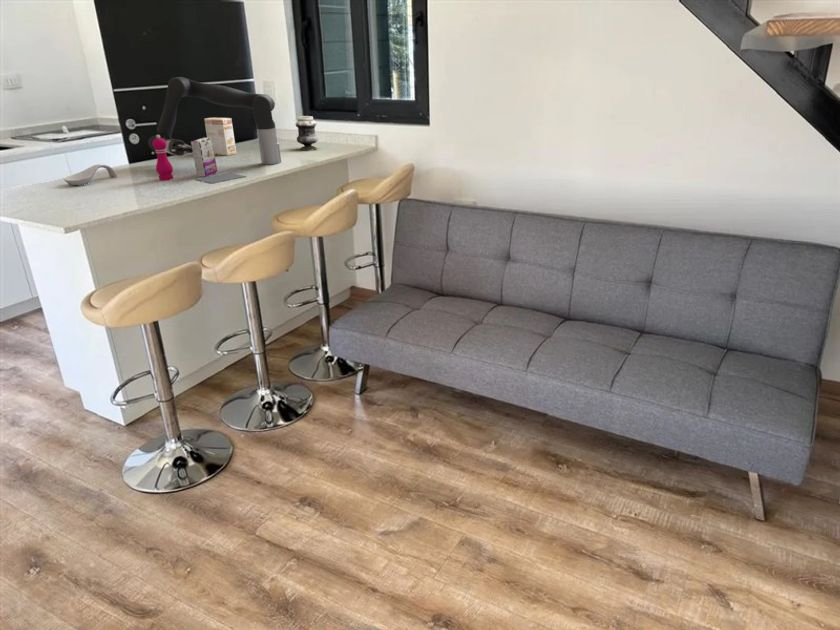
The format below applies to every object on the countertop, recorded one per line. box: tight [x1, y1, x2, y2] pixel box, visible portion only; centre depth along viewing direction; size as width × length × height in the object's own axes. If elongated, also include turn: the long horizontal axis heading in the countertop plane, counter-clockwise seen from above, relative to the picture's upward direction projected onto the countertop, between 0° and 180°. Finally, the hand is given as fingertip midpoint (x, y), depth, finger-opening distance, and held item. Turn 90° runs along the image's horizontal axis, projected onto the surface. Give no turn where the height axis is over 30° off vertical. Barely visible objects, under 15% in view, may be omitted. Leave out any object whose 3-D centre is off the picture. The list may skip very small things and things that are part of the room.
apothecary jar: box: [295, 115, 319, 151], centre depth 353 cm, size 12×12×18 cm
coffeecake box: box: [204, 117, 237, 156], centre depth 346 cm, size 15×7×20 cm, turn 58°
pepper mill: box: [152, 134, 174, 181], centre depth 283 cm, size 7×7×20 cm
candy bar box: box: [190, 137, 218, 178], centre depth 290 cm, size 11×5×16 cm, turn 168°
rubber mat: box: [194, 172, 247, 184], centre depth 284 cm, size 18×14×1 cm
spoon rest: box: [63, 164, 118, 186], centre depth 285 cm, size 24×12×7 cm, turn 153°
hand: (192, 150), depth 296 cm, fingers closed
